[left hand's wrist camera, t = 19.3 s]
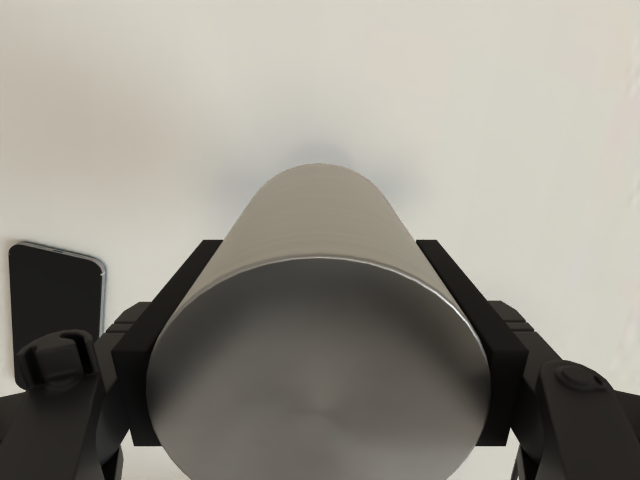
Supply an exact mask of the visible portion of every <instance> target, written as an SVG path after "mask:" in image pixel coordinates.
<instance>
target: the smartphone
mask: <svg viewBox="0 0 640 480" xmlns="http://www.w3.org/2000/svg"><path fill="white" fill-rule="evenodd" d="M9 272H10V292H11V312H12V331H13V351H14V371H15V382H16V384H17V385H18V386H19V387H20V388H22V389H24V390H27V387H26V384H25V381H24V379H23V376H22V373H21V370H20V368H19V365H18V362H17V359H16V357H15V356H16V354H17V353H18V352H19V351H20V350H21V349H22V348H23V347H25V346H26V345H28V344H29V343H31V342H32V341H34V340H36V339H38V338H41V337H43V336H45V335H48V334H51V333H55V332H58V331H62V330H72V329H78V330H84V331H87V332H88V333H89V334H91V336H92V340H93V344H94V343H95V342H96V341H97V340H98V339H99V338H100V337H101V336H102V327H103V309H104V291H105V274H106V271H105V267H104V265H103V264H102V263H101V262H100V261H99V260H97V259H95V258H92V257H88V256H83V255H79V254H75V253H70V252H66V251H61V250H57V249H53V248H48V247H44V246H40V245H35V244H31V243H26V242H22V243H18V244H16V245H14V246H12V247H11V248H10V250H9Z"/></svg>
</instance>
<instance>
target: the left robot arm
mask: <svg viewBox="0 0 640 480" xmlns="http://www.w3.org/2000/svg"><path fill="white" fill-rule="evenodd" d="M222 242H223V240H203V241H202V242H201V243H200V244H199V246H198V247H197V248H196V249H195V250H194V252H193V253H192V254H191V255H190V256H189V258H188V259H187V260H186V261H185V262H184V264H183V265H182V266H181V267H180V268H179V270H178V271H177V272H176V273H175V274H174V276H173V277H172V278H171V279H170V280H169V282H168V283H167V284H166V285H165V286H164V288H163V289H162V290H161V291H160V292H159V294H158V295H157V296H156V297H155V298H154V300H153V301H152V302H138V303H137V304H135V305H133V306H132V307H130V308H128V309H127V310H125V311H124V312H123V313H122V314H121V315H120V316H119V317H118V318H117V319H116V320H115V321H114V324H112V325H111V326H110V327H109V328H108V329H107V330H106V333H103V334H102V336H101V337H100V338H99V339H98V340H97V341H96V342H95V343H94V344H93V340H92V336H91V334H89V333H88V332H87V331H84V330H78V329H72V330H62V331H58V332H55V333H51V334H48V335H45V336H43V337H41V338H38V339H36V340H34V341H32V342H31V343H29V344H28V345H26V346H25V347H23V348H22V349H21V350H20V351H19V352H18V353H17V354H16V356H15V357H16V359H17V362H18V365H19V368H20V370H21V373H22V376H23V379H24V381H25V384H26V387H27V390H26V392H23V393H18V394H14V395H9V396H4V397H0V480H121V476H122V467H123V453H122V449H121V445H120V444H121V442H122V441H123V439H124V437H125V435H126V434H127V432H128V430H129V428H130V432H131V436H132V440H133V444H134V446H162V445H161V443H160V441H159V439H158V437H157V435H156V433H155V431H154V429H153V425H152V422H151V419H150V416H149V412H148V406H147V398H146V378H147V370H148V365H149V361H150V356H151V354H152V351H153V348H154V346H155V343H156V341H157V338H158V337H159V335H160V333H161V332H162V330H163V328H164V327H165V325H166V323H167V322H168V320H169V319H170V317H171V316H172V314H173V313H174V312H175V310H176V309H177V307H178V306H179V304H180V303H181V301H182V300H183V299H184V297H185V296H186V294H187V293H188V291H189V290H190V288H191V287H192V285H193V284H194V283H195V281H196V280H197V278H198V277H199V275H200V274H201V272H202V271H203V269H204V268H205V267H206V265H207V264H208V262H209V261H210V259H211V258H212V256H213V255H214V254H215V252H216V251H217V249H218V248H219V246H220V245H221V243H222ZM416 244H417V245H418V247H419V248H420V250H421V251H422V253H423V254H424V256H425V257H426V258H427V260H428V261H429V263H430V264H431V266H432V267H433V269H434V270H435V272H436V273H437V275H438V276H439V278H440V279H441V281H442V282H443V284H444V285H445V287H446V288H447V290H448V291H449V292H450V294H451V295H452V297H453V298H454V300H455V301H456V303H457V304H458V306H459V307H460V309H461V310H462V312H463V313H464V315H465V316H466V318H467V319H468V321H469V322H470V324H471V325H472V327H473V329H474V330H475V332H476V334H477V335H478V337H479V339H480V341H481V344H482V346H483V349H484V351H485V354H486V357H487V361H488V366H489V370H490V380H491V398H490V406H489V412H488V416H487V419H486V422H485V426H484V429H483V431H482V433H481V435H480V437H479V439H478V441H477V443H476V445H475V446H506V443H507V439H508V435H509V431H510V427H511V429H512V430H513V432H514V434H515V436H516V437H517V439H518V441H519V442H520V445H519V449H518V453H517V456H516V460H515V464H514V468H513V471H512V475H511V480H517V478H518V476H519V480H640V396H639V395H634V394H630V393H625V392H620V391H616V390H614V389H613V388H612V386H611V385H610V384H609V383H608V381H607V380H606V379H605V378H603V377H602V376H601V375H599V374H598V373H597V372H595V371H594V370H592V369H589V368H587V367H585V366H583V365H581V364H578V363H574V362H571V361H567V360H562V359H561V358H560V357H559V355H558V354H557V353H556V352H555V351H554V350H553V349H552V348H551V347H550V346H549V345H548V344H547V343H546V342H545V341H544V339H543V338H542V337H541V336H540V335H539V334H538V333H537V332H534V329H533V328H532V327H531V326H530V324H529V323H526V320H525V319H524V318H523V317H522V316H521V315H520V314H519V313H518V312H517V311H516V310H515V309H514V308H512V307H510V306H509V305H507V304H505V303H504V302H502V301H487V300H486V299H485V298H484V296H483V295H482V294H481V293H480V292H479V290H478V289H477V288H476V287H475V286H474V284H473V283H472V282H471V281H470V280H469V278H468V277H467V276H466V275H465V274H464V272H463V271H462V270H461V269H460V268H459V266H458V265H457V264H456V263H455V262H454V260H453V259H452V258H451V257H450V256H449V254H448V253H447V252H446V251H445V250H444V248H443V247H442V246H441V245H440V244H439V242H438V241H437V240H416Z"/></svg>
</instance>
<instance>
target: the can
mask: <svg viewBox="0 0 640 480" xmlns="http://www.w3.org/2000/svg"><path fill="white" fill-rule="evenodd" d="M146 398H147V406H148V412H149V416H150V419H151V422H152V425H153V429H154V431H155V433H156V435H157V437H158V439H159V441H160V443H161V445H162V446H163V448H164V449H165V451H166V452H167V454H168V455H169V457H170V458H171V459H172V461H173V462H174V463H175V464H176V465H177V466H178V467H179V468H180V470H181V471H182V472H183V473H184V474H186V475H187V476H188V477H189V478H190V479H191V480H446V479H447V478H448V477H449V476H450V475H452V474H453V473H454V472H455V471H456V470H457V469H458V468H459V466H460V465H461V464H462V463H463V462H464V461H465V460H466V458H467V457H468V455H469V454H470V452H471V451H472V449H473V448H474V446H475V445H476V443H477V441H478V439H479V437H480V435H481V433H482V431H483V429H484V426H485V422H486V419H487V416H488V412H489V406H490V398H491V380H490V370H489V366H488V361H487V357H486V354H485V351H484V349H483V346H482V344H481V341H480V339H479V337H478V335H477V334H476V332H475V330H474V329H473V327H472V325H471V324H470V322H469V321H468V319H467V318H466V316H465V315H464V313H463V312H462V310H461V309H460V307H459V306H458V304H457V303H456V301H455V300H454V298H453V297H452V295H451V294H450V292H449V291H448V290H447V288H446V287H445V285H444V284H443V282H442V281H441V279H440V278H439V276H438V275H437V273H436V272H435V270H434V269H433V267H432V266H431V264H430V263H429V261H428V260H427V258H426V257H425V256H424V254H423V253H422V251H421V250H420V248H419V247H418V245H417V244H416V242H415V241H414V239H413V238H412V236H411V235H410V233H409V232H408V230H407V229H406V227H405V226H404V224H403V223H402V222H401V220H400V219H399V217H398V216H397V214H396V213H395V211H394V210H393V208H392V207H391V205H390V204H389V202H388V201H387V199H386V198H385V196H384V195H383V194H382V193H381V191H380V190H379V189H378V188H377V187H376V186H375V185H374V184H373V183H372V182H370V181H369V180H368V179H366V178H365V177H363V176H362V175H360V174H358V173H356V172H354V171H352V170H350V169H347V168H344V167H341V166H336V165H331V164H307V165H302V166H297V167H294V168H291V169H289V170H286V171H284V172H282V173H280V174H278V175H276V176H275V177H274V178H272V179H271V180H269V181H268V182H267V183H266V184H265V185H264V186H262V187H261V188H260V190H259V191H258V192H257V193H256V194H255V196H254V197H253V198H252V200H251V201H250V203H249V204H248V206H247V207H246V209H245V210H244V211H243V213H242V214H241V216H240V217H239V219H238V220H237V222H236V223H235V225H234V226H233V227H232V229H231V230H230V232H229V233H228V235H227V236H226V238H225V239H224V240H223V242H222V243H221V245H220V246H219V248H218V249H217V251H216V252H215V254H214V255H213V256H212V258H211V259H210V261H209V262H208V264H207V265H206V267H205V268H204V269H203V271H202V272H201V274H200V275H199V277H198V278H197V280H196V281H195V283H194V284H193V285H192V287H191V288H190V290H189V291H188V293H187V294H186V296H185V297H184V299H183V300H182V301H181V303H180V304H179V306H178V307H177V309H176V310H175V312H174V313H173V314H172V316H171V317H170V319H169V320H168V322H167V323H166V325H165V327H164V328H163V330H162V332H161V333H160V335H159V337H158V338H157V341H156V343H155V346H154V348H153V351H152V354H151V356H150V361H149V365H148V370H147V378H146Z"/></svg>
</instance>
